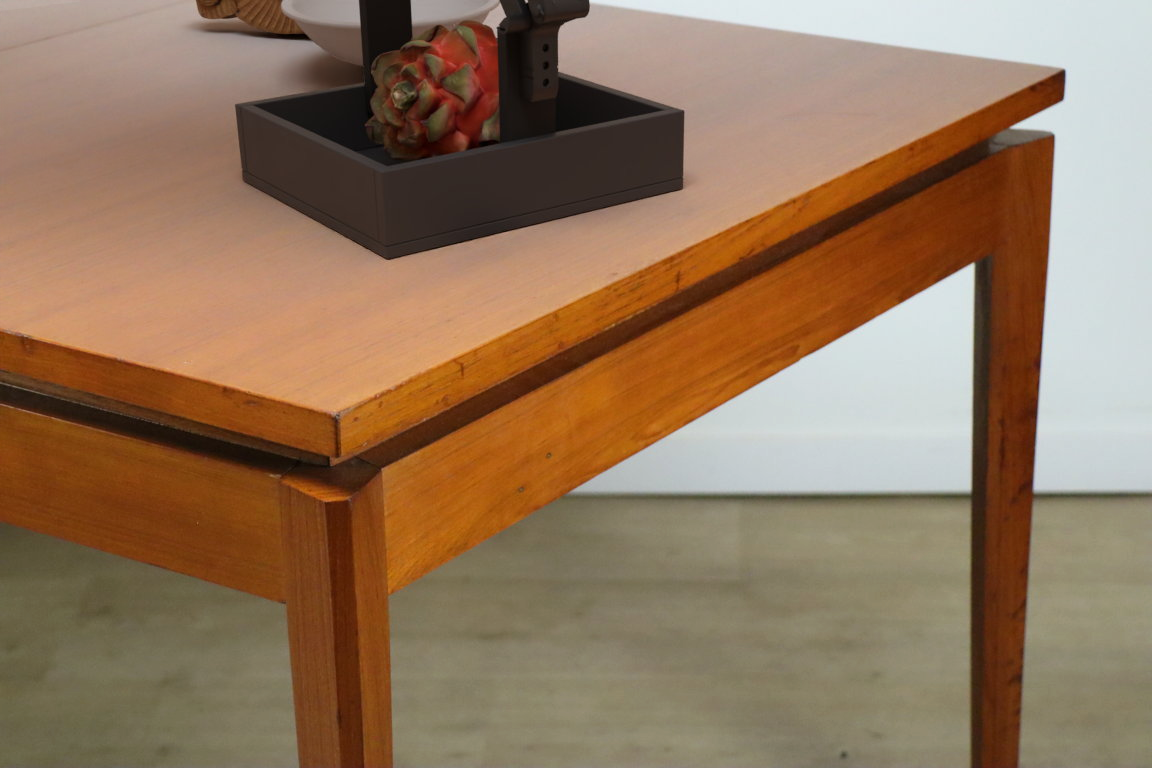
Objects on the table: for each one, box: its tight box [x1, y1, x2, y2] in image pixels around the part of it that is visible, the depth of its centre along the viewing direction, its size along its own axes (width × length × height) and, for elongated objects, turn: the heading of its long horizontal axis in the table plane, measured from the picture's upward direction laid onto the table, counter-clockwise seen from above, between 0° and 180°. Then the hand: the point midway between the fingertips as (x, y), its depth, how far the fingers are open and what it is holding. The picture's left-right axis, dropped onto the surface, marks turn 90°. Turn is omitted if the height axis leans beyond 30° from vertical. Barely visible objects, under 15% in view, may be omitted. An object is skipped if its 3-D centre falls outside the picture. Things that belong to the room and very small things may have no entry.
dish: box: [281, 0, 501, 67], centre depth 101 cm, size 18×14×5 cm
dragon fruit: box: [365, 20, 500, 162], centre depth 77 cm, size 8×8×12 cm
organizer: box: [234, 71, 685, 260], centre depth 78 cm, size 15×17×4 cm
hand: (455, 135), depth 78 cm, fingers open, 12 cm apart
